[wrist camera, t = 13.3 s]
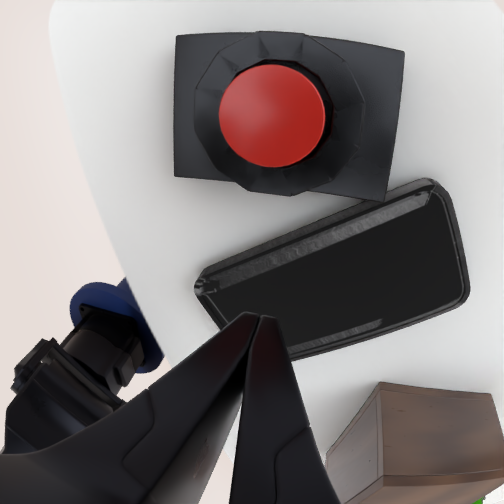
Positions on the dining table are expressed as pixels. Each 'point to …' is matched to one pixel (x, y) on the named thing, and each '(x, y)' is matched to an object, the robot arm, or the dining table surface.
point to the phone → (348, 273)
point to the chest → (415, 438)
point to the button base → (334, 99)
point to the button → (272, 115)
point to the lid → (431, 489)
